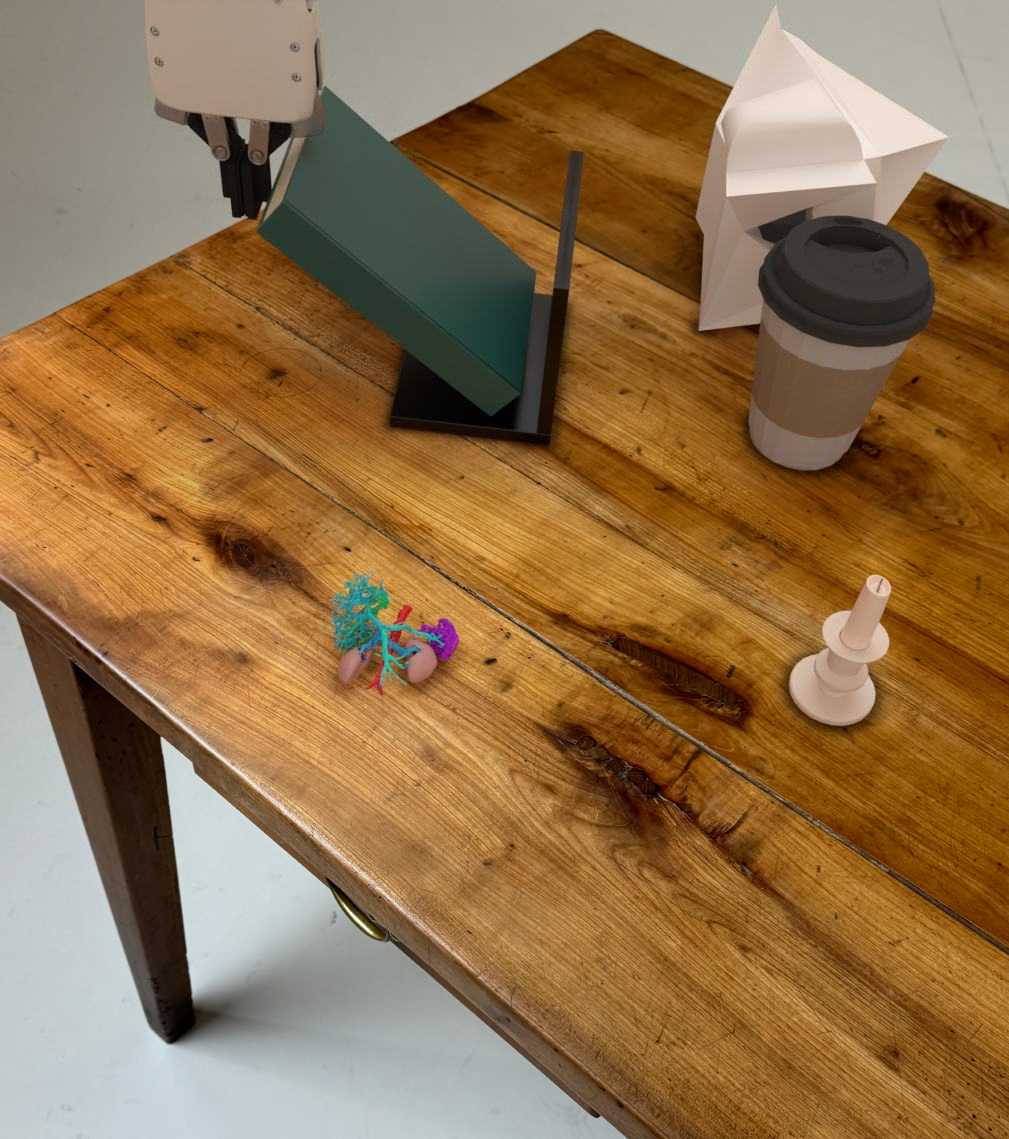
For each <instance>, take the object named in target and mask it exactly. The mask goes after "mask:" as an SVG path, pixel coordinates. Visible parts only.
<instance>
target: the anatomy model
mask: <svg viewBox="0 0 1009 1139" xmlns="http://www.w3.org/2000/svg"><path fill="white" fill-rule="evenodd" d="M366 574H367V573H366V572H364V573H363V574H362V573H360V575H358V572H357V571H356V572H354V574H352V577H353V579H354V580H355V581H356V583H354V580H351V581H349V580H348V581H347V580H344V584H345V585H343V587H342V589H344V590H346V589H347V588H348V592H349V593H348V594H345V595H344V593H343V592H342V590H341V589H339V593H338V592H337V593H336V594H335V595H334V596H333V598H332V599H331V600H330V601H334V600H335V602H333V606H331V608H332V609H333V610H332V611H331V612H330V616H331V617H332V618H331V619H330V620H332V621H333V622H331V625H334V626H335V627H332V628H331V630H332V631H335V632H334V633H333V634H332V635H331V636H332V637H336V640H335V643H334V645H335V647H336V648H338V647H339V649H338V650H337V652H340V653H345V654H344V655H343V656H341V658H340V660H339V663H338V666H337V677H338V679H339V681H340V682H341V683H342V684H344V685H348V684H352V683H353V682H354V681H355V680H356V679H357V678H358V677H359V676H360V675H361V674H362V673H363V672H364V671H365V669H367V667H368V668H369V667H370V665H369V664H370V662H371V660H372V658H373V656H374V655H377V656H379V657H381V658H382V660H381V662H380V665H379V667H378V670H377V673H376V675H375V678H374V679H373V680H372V681H371V682H370V683H369V684H367V685H365V686H364V687H363V689H365V690H370V689H371V688H373V687H374V686H376V689H377V691H378V694H379V695H381V696H385V694H384V691H383V689H384V686H385V681H386V674H387V673H388V678H389V681H390V682H391V683H392V682H393V679H392V678H391V674H393V675H394V677H396V678H397V679H399V681H400V683H402V684H404V685H405V686H407V685H408V683H406V682H405V681H404V680H402V679H401V677H399V676H398V674H397V673H395V671H394V670H393V669H392V667H391V664H392V663H394V664H395V665H396V666H398V667H399V668H400V669H401V670H404V669H406V670H407V671H406V672H407V678H408V681H409V682H411V684H412V683H413V684H417V683H421V682H423V681H424V680H427V679H428V678H430V677H431V676H432V674H433V673H434V670H435V669H436V668H437V666H438V659H439V660H441V661H443V662H445V661H447V660H449V659H450V658H452V656H453V654H454V653H455V652H456V651H457V648H458V645H459V642H460V637H459V634H458V633H457V630H456V627H455V624H454V623H452V622H451V620H449V619H448V618H445V617H444V618H443V617H441V618H439V619H438V620H437V619H436V621H437V626H436V624H435V625H434V626H432V625H428V624H426V623H422V624H421V625H420V626H421V627H420V628H417V629H416V630H415V629H413V628H412V627H411V626H410V625H408V624H405V623H408V621H407V618H408V616H409V615H410V614H411V612H412V611H413V607H412V605H410V604H404V605H403V607H402V609H400V610H399V612H398V613H397V615H396V618H397V619H396V620H395V621H394V622H393V624H392V625H391V626H390V625H389V624H388V623H385V624H383V622H381V621H380V620H379V619H380V617H378V615H379V612H380V611H381V610H382V609H383V610H387V609H388V608H389V607H388V606H389V604H390V602H391V600H393V598H394V596H393V595H392V596H390V597H389V592H388V591H387V589H385V588H383V582H384V581H385V579H383V578H382V579H381V581H380V583H379V587H378V585H377V584H375V585H374V584H373V583H372V584H370V583H369V580H372V577H374V574H375V572H374V571H372V574H371V575H369V576H365V575H366ZM356 588H357V589H356ZM341 600H344V601H341ZM330 601H328V605H330V604H331V603H330ZM336 604H337V605H338V607H336ZM376 604H377V605H376ZM375 605H376V606H375ZM360 606H363V607H362V609H360V610H358V611H357V612H355V611H354V608H355V607H360ZM373 606H374V607H373ZM340 610H343V611H344V613H340V614H337V615H336V616H335V615H334V612H335V611H337V612H340ZM345 611H346V612H345ZM342 616H344V617H342ZM339 617H342V618H339ZM354 620H355V621H354ZM369 621H370V622H372V624H370V623H369ZM368 623H369V624H368ZM338 624H339V625H338ZM367 624H368V625H367ZM374 629H376V630H377V631H376V632H375V630H374ZM403 631H408V633H410V634H413V635H409V636H408V637H407V638H406V639H405V642H404V647H401V646H399V645H402V642H401V641H400V639H401V636H402V632H403ZM356 632H357V634H356V635H355V633H356ZM388 632H390V636H389V634H388ZM414 635H416V636H417V637H416V636H414ZM341 636H343V637H342V638H343V639H342V640H341ZM418 637H424V639H425V640H427V642H425V641H423V640H421V639H420V638H418ZM357 639H358V640H357ZM357 641H358V642H357ZM399 641H400V642H399ZM379 643H380V644H381V649H379V650H378V652H377V653H375V651H376V649H377V644H379ZM339 645H340V646H339ZM343 647H344V649H343ZM342 649H343V650H342ZM380 653H381V654H382V655H381V654H380ZM395 653H396V654H397V655H399V657H394V654H395ZM404 657H406V658H407V661H406V662H405V663H404V664H402V663H400V662H398V660H401V659H403V658H404ZM403 665H405V666H403Z"/></svg>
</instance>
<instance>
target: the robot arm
mask: <svg viewBox="0 0 1009 1139" xmlns="http://www.w3.org/2000/svg"><path fill="white" fill-rule="evenodd" d="M320 16H321V15H320V11H319V1H318V0H144V21H145V22H144V23H145V40H146V42H145V43H146V53H147V64H148V73H149V78H150V83H151V88H152V92H153V94H154V97H155V98H154V107H153V108H154V109H153V111H154V113H155V114H156V116H157V117H158V118H161V119H163V120H166V121H169V122H171V123H172V122H173V123H176V124H178V125H181V126H188V127H189V129H191V131H193V133H195V134H196V136H198V137H199V138H200V139H201V140H202V141H203V142H204V143H205V144H206V145H207V146H208V147H209V148H210V152H211V155H212V157H213V158H214V159H216V160H217V161H218V162H219V163H218V164H219V172H220V181H221V182H220V183H221V190H222V196H223V198H224V199H225V198H226V199H230V208H231V217H232V218H233V219H234V218H235V219H241V218H242V217H245V218H247V219H248V220H254V221H257V219H258V217H259V214H260V211H261V208H262V206H263V203H267V201H268V198H269V195H270V193H271V190H272V187H273V184H272V171H271V170H272V169H271V158H270V156H271V155H272V154H273V153H274V152H276V151H277V150H278V149H279V148H281V146H282V145H283V144H285V143H286V142H287V141H288V140H289V139H291V138H293V137H295V138H302V137H310V136H318V135H320V134H321V133H322V132H323V129H324V126H325V123H326V116H325V113H324V109H323V106H322V102H321V99H320V92H322V89H323V87H324V80H325V79H324V76H325V63H324V62H325V61H324V47H323V38H322V27H321V18H320ZM237 119H241V120H250V121H249V135H248V143H246V139H245V138H242V136H241V135H240V130H239V127H238V122H237Z"/></svg>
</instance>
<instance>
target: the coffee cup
mask: <svg viewBox="0 0 1009 1139" xmlns="http://www.w3.org/2000/svg"><path fill="white" fill-rule="evenodd" d="M758 287H759V289H760V292H761V294H762V297H763V305H762V314H761V322H760V324H759V331H758V338H757V348H756V356H755V364H754V372H753V379H752V380H753V381H752V389H751V395H750V405H749V411H748V412H749V413H748V422H747V423H748V427H749V437H750V440H751V442H752V445H754V447H755V448H756V449H757V451H759V453H760V454H761V455H763V456H764V457H765V458H766V459H768V460H769V461H771V462H773V463H775V464H777V465H780V466H783V467H785V468H788V469H792V470H799V471H819V470H822V469H825V468H828V467H831V466H833V465H834V464H835V463H837V462H838V461H839V460H841V458H842V457H843V455H844V454H845V453H847V452H848V451H849V449H850V448H851V445H852V444H853V442H854V440H855V439H856V436H857V435H858V433H859V431H860V429H861V427H862V426H863V424H864V422H865V421H866V418H867V417H868V415H869V413H870V412H871V410H872V408H873V406H874V404H875V403H876V401H877V399H878V397H879V395H880V394H881V392H882V390H883V388H884V387H885V385H886V383H887V381H888V379H889V378H890V376H891V374H892V372H893V371H894V369H895V367H896V365H897V363H898V362H899V359H900V358H901V356H902V354H903V352H904V351H905V349H906V347H907V346H908V343H909V342H910V341H911V339H912V338H914V337H916V335H918V334H920V333H921V332H923V330H925V329H926V327H927V326H928V324H929V322H930V320H931V318H932V317H933V315H934V309H933V308H934V305H935V304H936V292H935V291H936V290H935V289H936V288H935V287H936V286H935V282H934V281H933V278H932V277H931V275H930V264H929V261H928V260H927V258H926V256H925V254H924V252H923V250H922V249H921V248H920V247H919V246H918V245H917V244H916V243H915V242H914V241H913V240H911V238H910V237H908V236H907V235H906V234H904V233H902V232H901V231H898V230H896V229H895V228H893V227H891V226H890V225H888V224H887V225H884V224H881V223H878V222H876V221H873V220H870V219H865V218H859V217H853V216H847V215H845V216H823V217H819V218H815V219H811V220H807V221H805V222H803V223H801V224H799V225H798V226H796V227H794V228H793V229H792V230H791V231H790V233H789V234H788V235H787V237H785V238H783V239H782V240H780V241H778V242H776V243H775V244H774V246H773V247H772V248H771V250H770V251H769V253H768V254H767V255H766V257H765V258H764V263H763V265H762V266H761V267H760V269H759V278H758Z"/></svg>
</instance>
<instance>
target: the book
mask: <svg viewBox="0 0 1009 1139" xmlns="http://www.w3.org/2000/svg"><path fill="white" fill-rule="evenodd" d="M319 95H320V99H321V102H322V106H323V109H324V113H325V116H326V123H325V126H324V129H323V132H322V133H321V134H320V135H318V136H310V137H302V138H295V137H293V138H289V139H290V140H289V142H288V145H287V147H286V150H285V152H284V155H283V158H282V161H281V164H280V166H279V168H278V172H277V174H276V177H275V180H274V182H273V184H272V190H271V193H270V195H269V198H268V201H267V202H265V206H264V209H263V210H262V214H261V216H260V220H259V222H258V225H257V227H256V231H255V233H256V234H257V235H259V236H260V237H261V238H262V239H264V240H265V241H266V242H268V243H269V244H270V245H272V246H273V247H274V248H275V249H276V250H278V251H279V252H281V253H282V254H283V255H284V256H286V258H288V259H289V260H291V261H292V262H294V264H296V265H297V266H298V267H299V268H301V269H302V270H303V271H305V273H307V274H309V275H310V276H311V277H312V278H313V279H315V280H316V281H318V283H320V284H321V285H322V286H324V288H326V289H328V290H329V291H330V292H331V293H333V294H334V295H335V296H336V297H337V298H339V299H340V300H341V301H343V302H344V303H345V304H346V305H348V306H349V307H350V308H352V309H353V310H354V311H356V312H357V313H358V314H359V315H361V316H362V317H363V318H364V319H366V320H367V321H368V322H369V323H371V324H372V325H373V326H375V327H376V328H377V329H378V330H380V331H381V332H382V333H383V334H385V335H386V336H387V337H388V338H390V339H391V340H392V341H394V342H395V343H396V344H397V345H398V346H400V347H401V348H403V349H404V351H405V350H407V351H408V352H409V353H410V354H412V355H413V356H414V357H415V358H417V359H418V360H419V361H421V362H422V363H423V364H424V365H426V366H427V367H428V368H429V369H431V370H432V371H433V372H435V373H436V374H437V375H438V376H440V377H441V378H442V379H443V380H445V381H446V382H447V383H449V384H450V385H451V386H452V387H454V388H455V389H456V390H457V391H459V392H460V393H461V394H463V395H464V396H465V397H466V398H468V399H469V400H470V401H471V402H473V403H474V404H475V405H477V406H478V407H479V408H480V409H482V410H483V411H484V412H485V413H487V414H488V415H489V416H493V415H494V414H495V413H496V412H498V411H499V410H500V409H502V408H503V407H504V406H506V405H507V404H508V403H509V402H511V401H512V400H513V399H515V398H516V397H517V396H518V395H520V392H521V385H522V377H523V370H524V362H525V355H526V348H527V340H528V333H529V325H530V318H531V310H532V303H533V296H534V293H535V289H536V288H535V287H536V280H537V271H536V270H535V269H534V268H533V267H532V266H530V265H529V264H528V263H527V262H526V261H524V259H522V258H521V257H520V256H519V255H518V254H517V253H516V252H515V251H513V249H511V248H510V247H508V245H506V244H505V243H504V242H503V241H502V240H500V238H499V237H497V236H496V235H495V234H494V233H493V232H492V231H491V230H489V229H488V228H487V227H486V226H485V225H484V224H483V223H481V222H480V221H479V220H478V219H477V218H476V217H475V216H473V215H472V214H471V213H470V212H469V211H468V210H467V209H466V208H465V207H464V206H462V205H461V204H460V203H459V202H457V200H455V198H453V197H452V196H451V195H450V194H449V193H447V192H446V190H444V189H443V188H442V187H441V186H440V185H438V184H437V183H436V182H435V181H434V180H433V179H431V178H430V177H429V176H428V175H427V174H426V173H425V172H424V171H423V170H422V169H420V168H419V167H418V166H417V165H416V164H415V163H413V162H412V161H411V159H409V158H408V157H407V156H406V155H405V154H403V153H402V152H401V151H400V150H399V148H396V146H394V145H393V143H391V142H390V141H389V140H388V139H386V138H385V137H384V136H383V135H382V134H381V133H380V132H378V131H377V130H376V129H375V128H374V127H373V126H372V125H371V124H370V123H368V121H366V120H365V119H364V118H362V116H360V115H359V114H358V113H357V112H356V111H355V110H354V109H352V108H351V107H350V106H349V105H348V104H347V103H346V102H344V100H342V99H341V98H340V97H339V96H338V95H336V93H334V92H333V91H332V90H331V89H330V88H328V86H326V85H323V86H322V90H321V91H320V93H319Z"/></svg>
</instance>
